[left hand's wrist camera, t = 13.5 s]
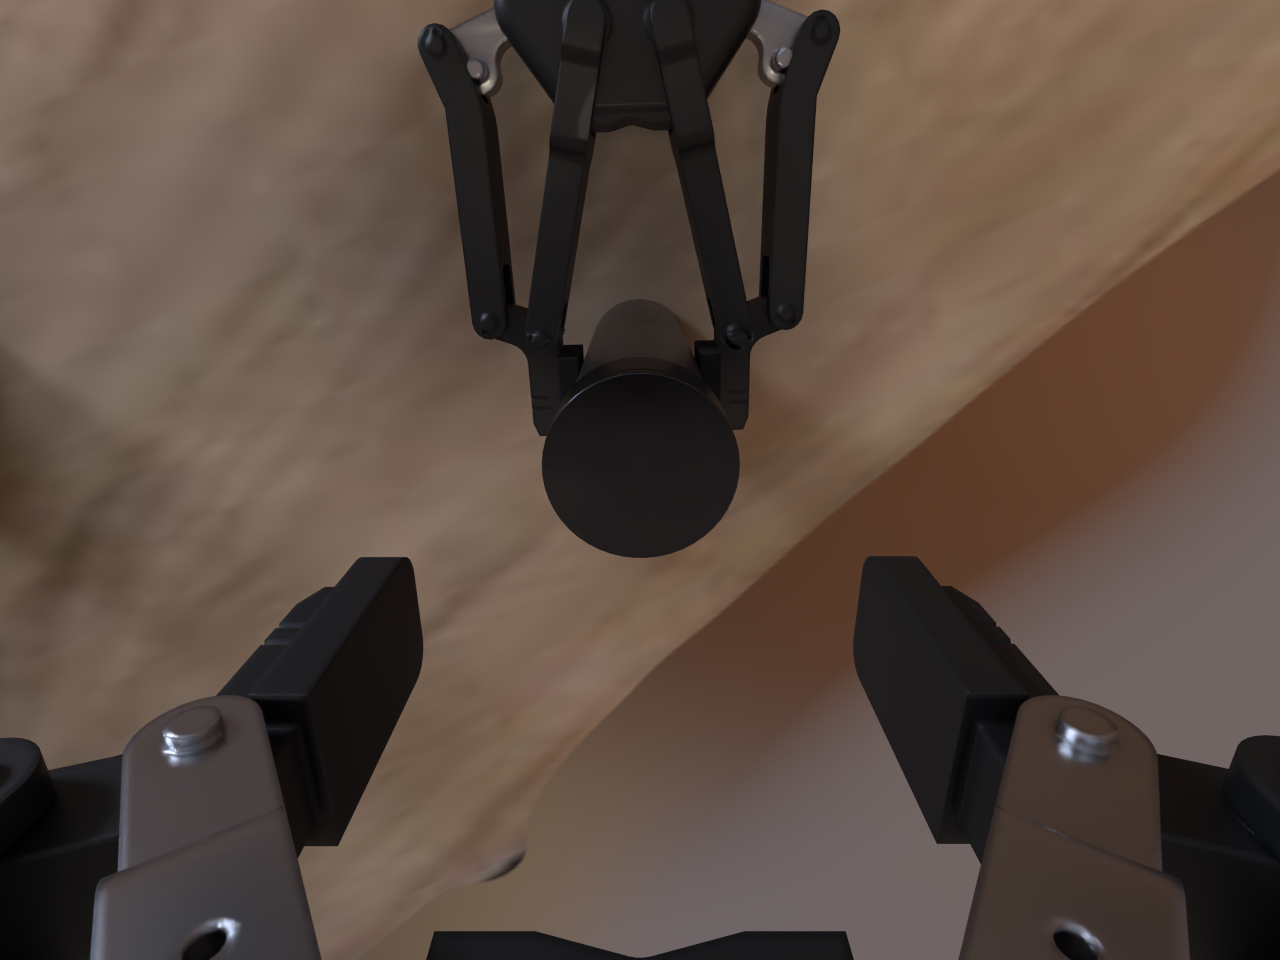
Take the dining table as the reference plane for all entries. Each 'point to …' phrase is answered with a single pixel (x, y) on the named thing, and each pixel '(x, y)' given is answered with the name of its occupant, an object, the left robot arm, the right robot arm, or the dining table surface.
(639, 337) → the brown long cylinder
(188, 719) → the left robot arm
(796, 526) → the dining table surface
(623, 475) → the lid
